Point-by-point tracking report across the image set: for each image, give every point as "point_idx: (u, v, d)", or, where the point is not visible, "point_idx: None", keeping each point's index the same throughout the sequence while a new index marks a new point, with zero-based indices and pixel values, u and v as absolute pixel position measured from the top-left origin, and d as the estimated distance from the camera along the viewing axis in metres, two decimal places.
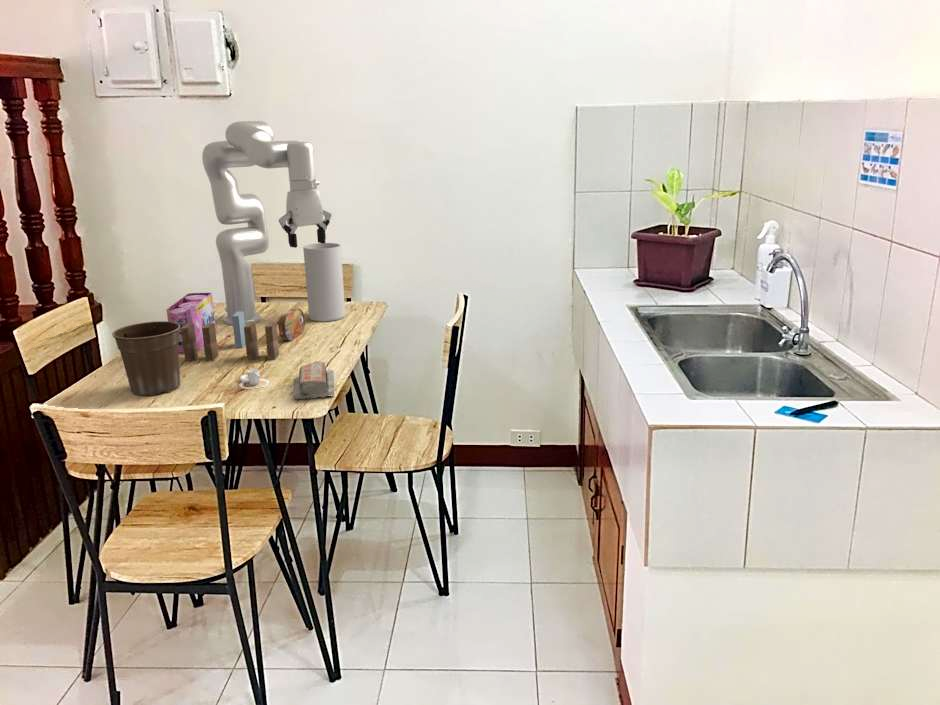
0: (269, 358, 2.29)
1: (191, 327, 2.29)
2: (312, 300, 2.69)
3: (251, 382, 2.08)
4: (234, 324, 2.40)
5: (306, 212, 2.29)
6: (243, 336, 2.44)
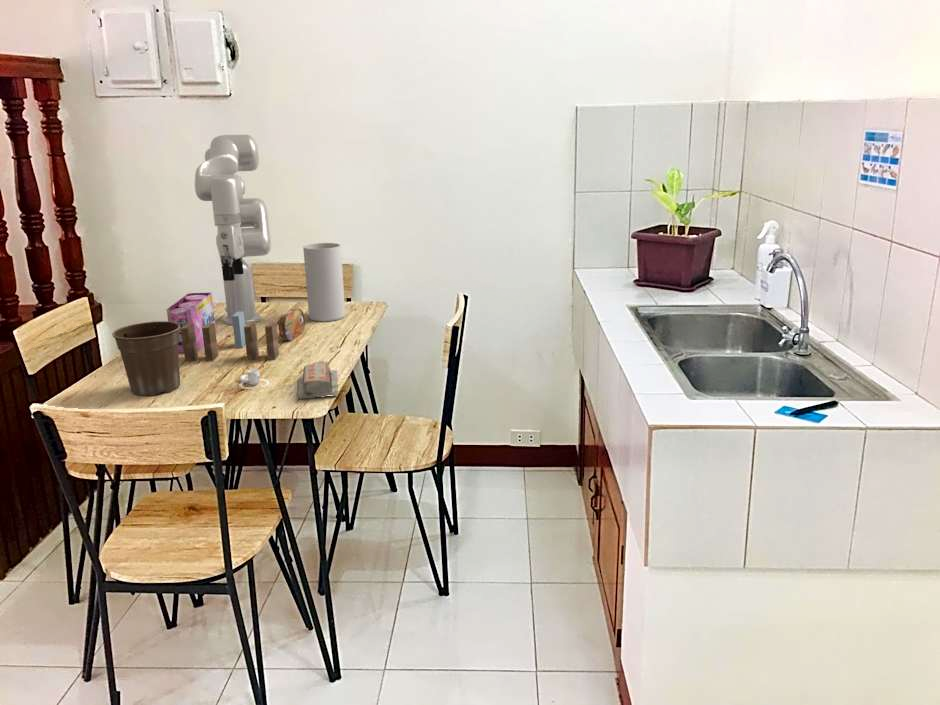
0: (269, 358, 2.29)
1: (191, 327, 2.29)
2: (312, 300, 2.69)
3: (251, 382, 2.08)
4: (234, 324, 2.40)
5: None
6: (243, 336, 2.44)
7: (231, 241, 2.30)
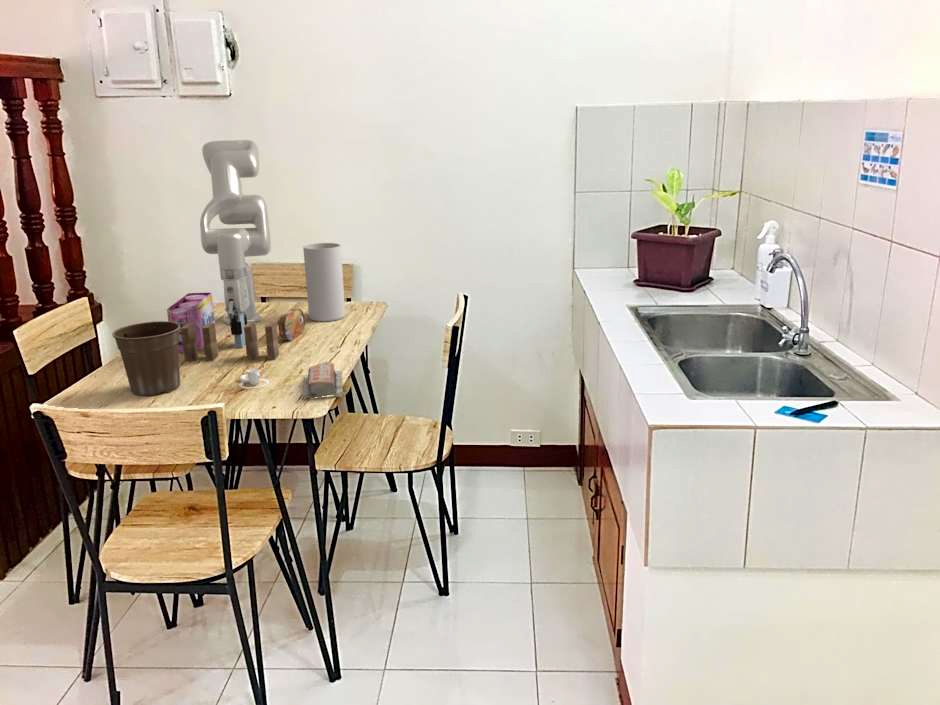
0: (269, 358, 2.29)
1: (191, 327, 2.29)
2: (312, 300, 2.69)
3: (251, 382, 2.08)
4: None
5: None
6: (243, 336, 2.44)
7: (237, 295, 2.35)
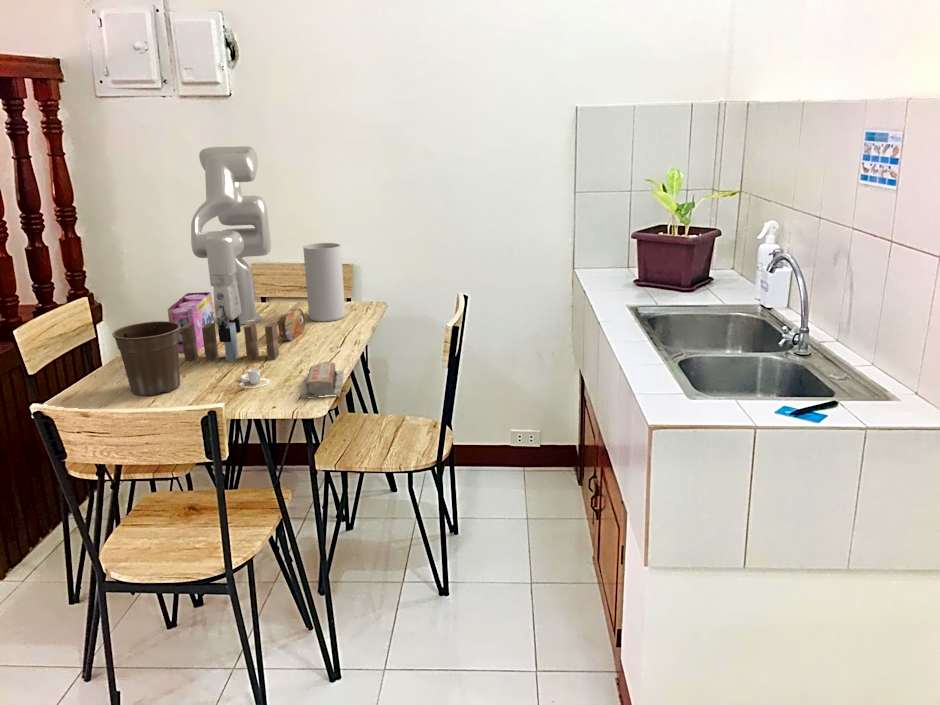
0: (269, 358, 2.29)
1: (191, 327, 2.29)
2: (312, 300, 2.69)
3: (251, 381, 2.08)
4: None
5: None
6: (235, 348, 2.31)
7: (227, 302, 2.22)
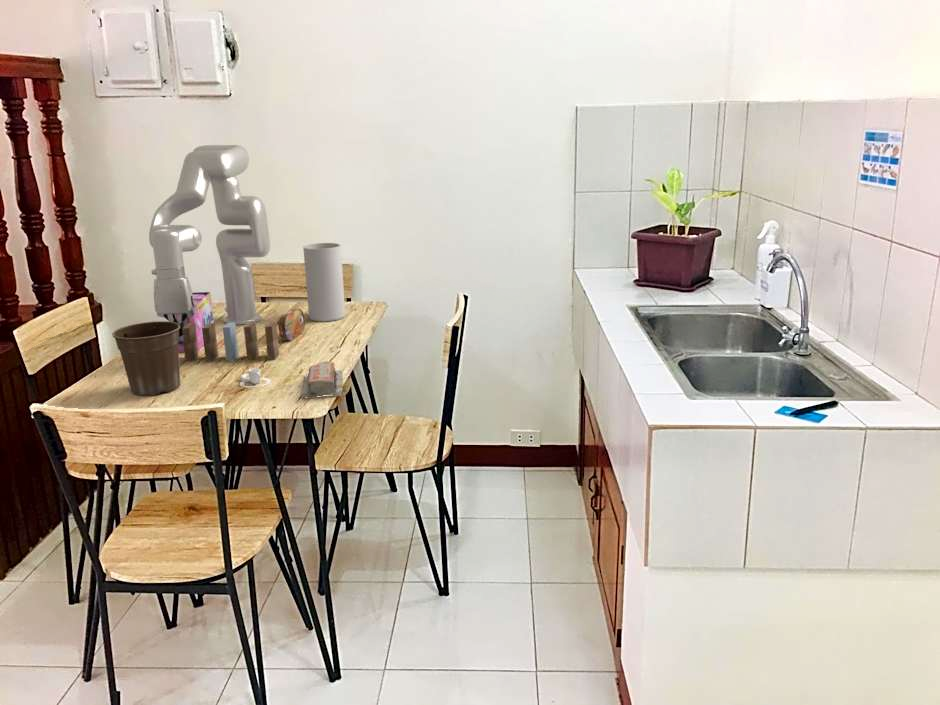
0: (269, 358, 2.29)
1: (192, 327, 2.29)
2: (312, 300, 2.69)
3: (252, 381, 2.09)
4: (225, 336, 2.27)
5: None
6: (235, 348, 2.31)
7: None
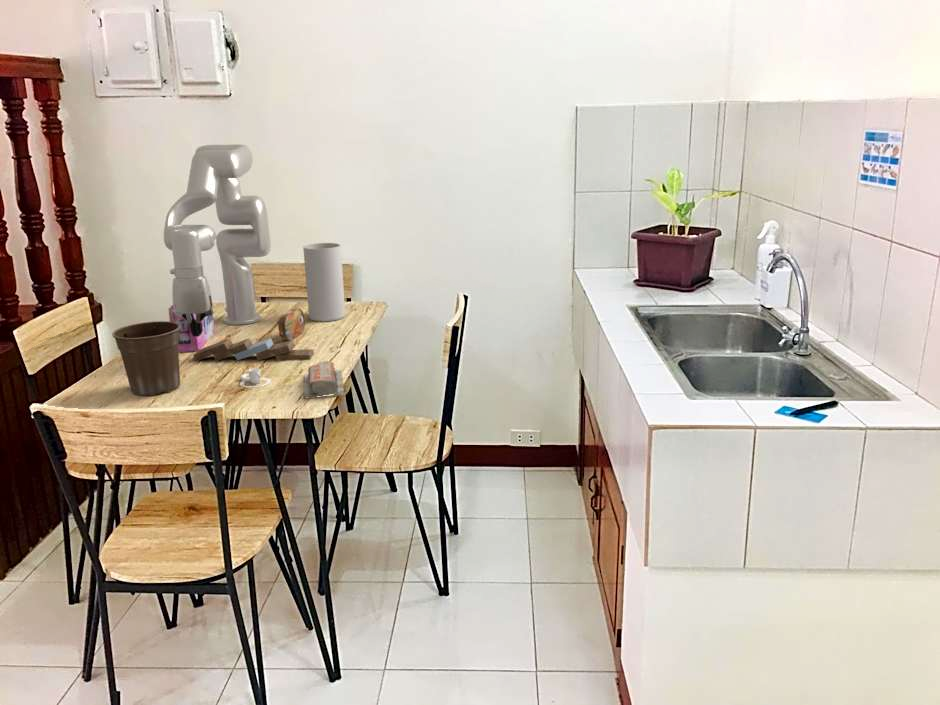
0: (276, 356, 2.29)
1: None
2: (312, 300, 2.69)
3: (252, 381, 2.09)
4: (258, 347, 2.28)
5: None
6: None
7: (172, 294, 2.24)
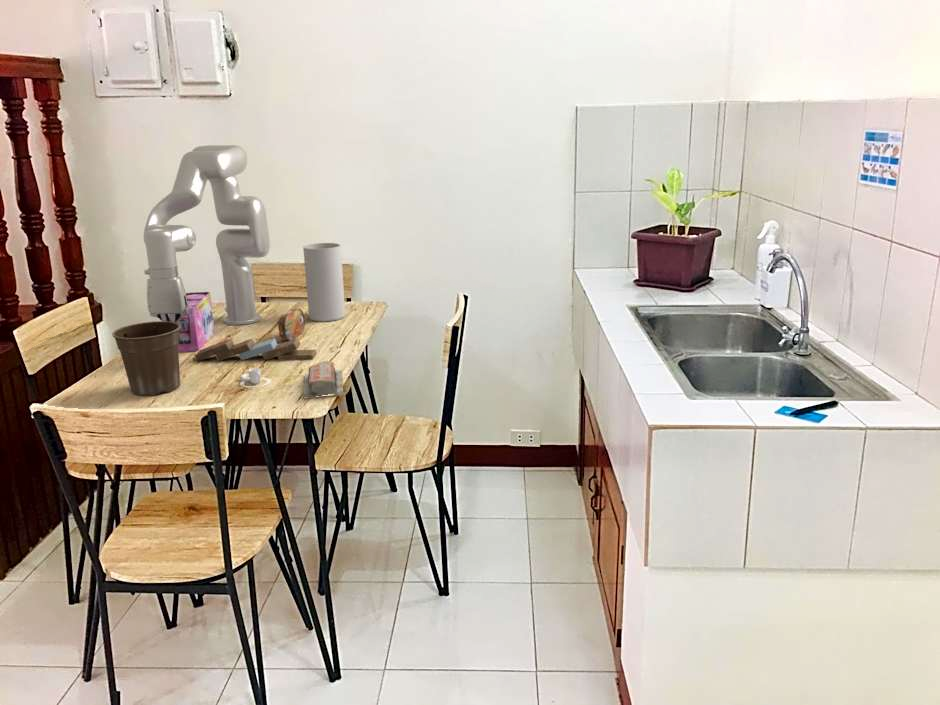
0: (279, 357, 2.29)
1: (230, 347, 2.31)
2: (312, 300, 2.69)
3: (252, 381, 2.09)
4: (263, 347, 2.28)
5: None
6: None
7: (147, 294, 2.24)
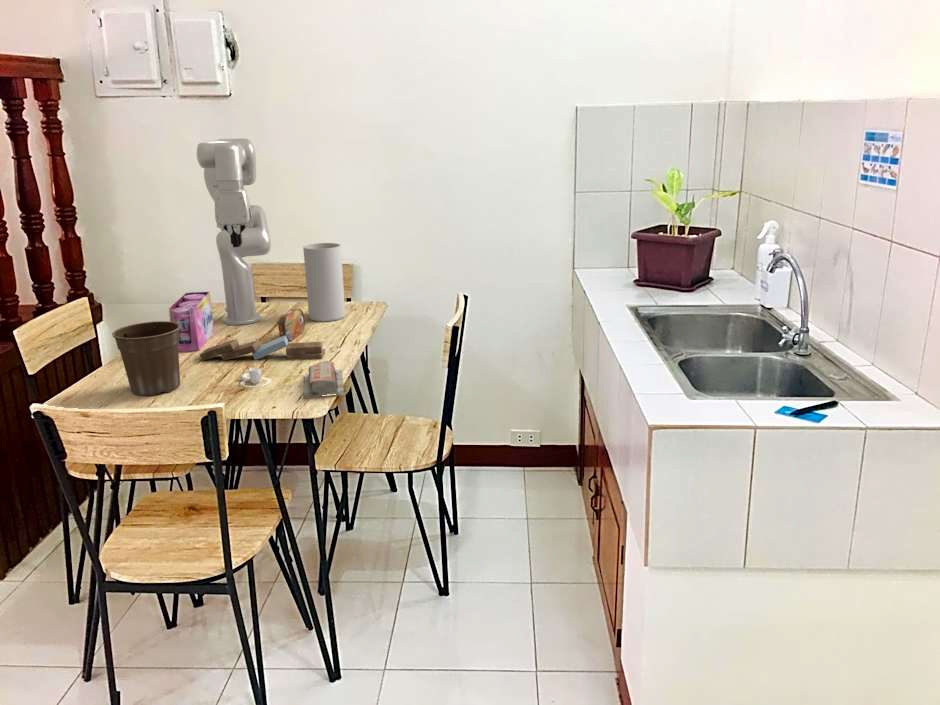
0: (288, 356, 2.29)
1: (234, 347, 2.31)
2: (312, 300, 2.69)
3: (252, 380, 2.09)
4: (276, 345, 2.29)
5: None
6: None
7: None
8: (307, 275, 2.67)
